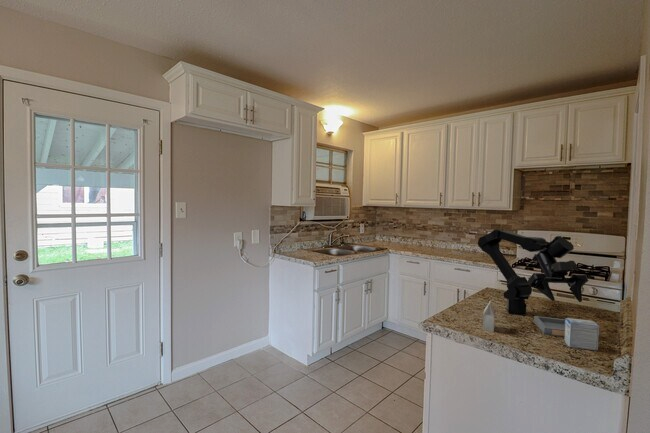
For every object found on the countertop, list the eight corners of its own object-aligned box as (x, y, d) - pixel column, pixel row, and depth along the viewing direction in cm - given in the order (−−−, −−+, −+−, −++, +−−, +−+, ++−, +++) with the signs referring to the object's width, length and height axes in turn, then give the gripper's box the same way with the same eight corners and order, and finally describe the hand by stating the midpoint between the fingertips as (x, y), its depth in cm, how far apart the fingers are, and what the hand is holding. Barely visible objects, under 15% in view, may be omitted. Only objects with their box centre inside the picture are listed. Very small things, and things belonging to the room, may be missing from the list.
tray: (544, 334, 116) (544, 328, 115) (533, 321, 128) (534, 315, 128) (580, 339, 112) (581, 332, 112) (566, 325, 124) (566, 319, 124)
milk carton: (482, 330, 119) (483, 304, 119) (483, 324, 125) (484, 299, 124) (493, 332, 117) (494, 305, 117) (494, 326, 123) (495, 301, 123)
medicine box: (591, 345, 107) (593, 320, 107) (598, 351, 103) (599, 325, 103) (563, 341, 110) (565, 317, 109) (569, 347, 106) (570, 321, 105)
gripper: (533, 251, 119) (550, 288, 108) (586, 253, 117) (608, 290, 107) (521, 268, 127) (536, 304, 116) (570, 269, 125) (589, 306, 115)
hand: (567, 301), depth 113 cm, fingers open, 9 cm apart
